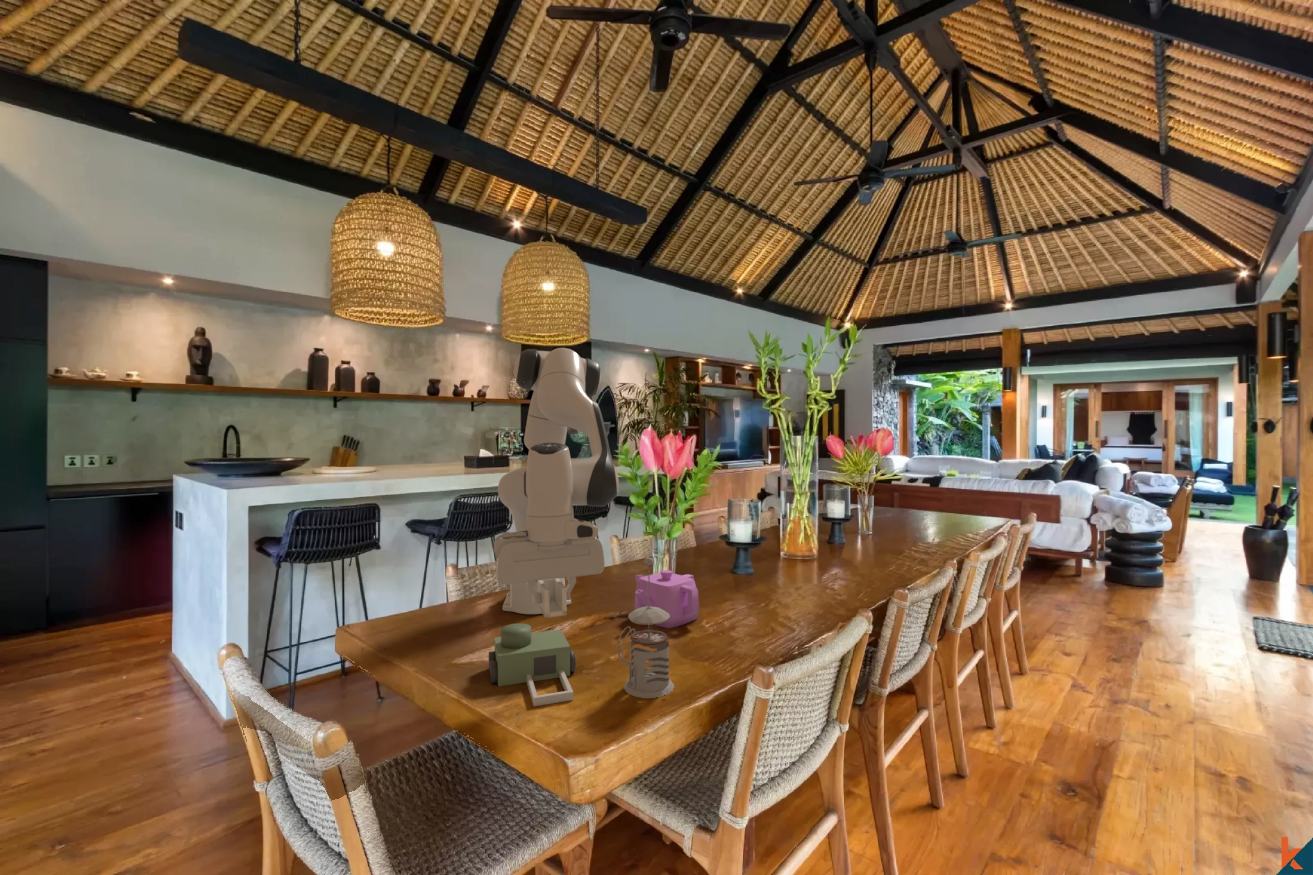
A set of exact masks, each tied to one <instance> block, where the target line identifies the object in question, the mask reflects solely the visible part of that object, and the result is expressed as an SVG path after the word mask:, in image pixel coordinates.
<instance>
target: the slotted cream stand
mask: <svg viewBox="0 0 1313 875" xmlns="http://www.w3.org/2000/svg"><path fill="white" fill-rule="evenodd" d="M566 587H567V586H566V585H565V586H564V584H563V583H562V582H561V581H560V579H559V578H556V579H547V580H538V592H540V593H541V594H542V599H541V600H542V603H541V604H538V606H539V608H540V609H541V611H542V613H543V614H542V615H543V616H544V618H545V619H547V618H555V617H561V616H568V608H567V606H568V605H567V597H566Z"/></svg>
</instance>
